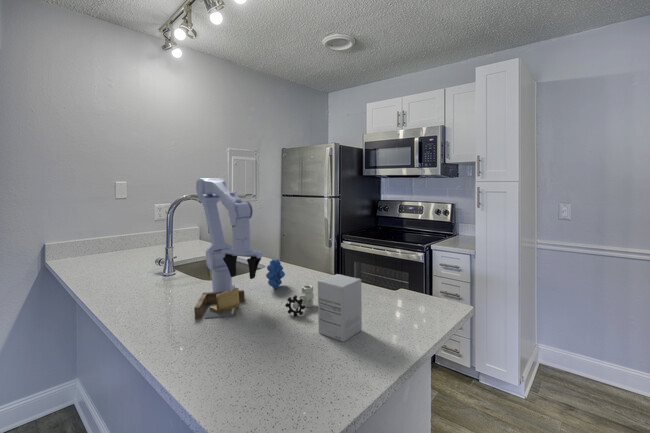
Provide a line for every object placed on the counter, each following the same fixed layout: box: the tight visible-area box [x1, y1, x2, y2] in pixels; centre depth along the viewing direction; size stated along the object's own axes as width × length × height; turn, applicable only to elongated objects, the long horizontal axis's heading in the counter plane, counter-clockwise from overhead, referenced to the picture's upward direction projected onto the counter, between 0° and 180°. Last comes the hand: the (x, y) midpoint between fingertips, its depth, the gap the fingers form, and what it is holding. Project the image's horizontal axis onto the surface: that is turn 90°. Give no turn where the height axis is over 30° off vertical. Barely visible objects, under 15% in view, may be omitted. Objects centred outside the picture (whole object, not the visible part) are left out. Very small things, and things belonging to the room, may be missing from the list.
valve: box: [284, 284, 315, 318], centre depth 107 cm, size 7×7×12 cm
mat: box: [204, 303, 238, 320], centre depth 107 cm, size 11×9×1 cm
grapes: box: [265, 258, 286, 289], centre depth 128 cm, size 12×7×12 cm, turn 162°
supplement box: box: [317, 273, 363, 343], centre depth 91 cm, size 9×9×15 cm
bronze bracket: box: [209, 287, 240, 313], centre depth 108 cm, size 8×5×6 cm, turn 142°
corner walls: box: [193, 289, 246, 320], centre depth 109 cm, size 14×14×4 cm
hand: (242, 277), depth 112 cm, fingers open, 7 cm apart
